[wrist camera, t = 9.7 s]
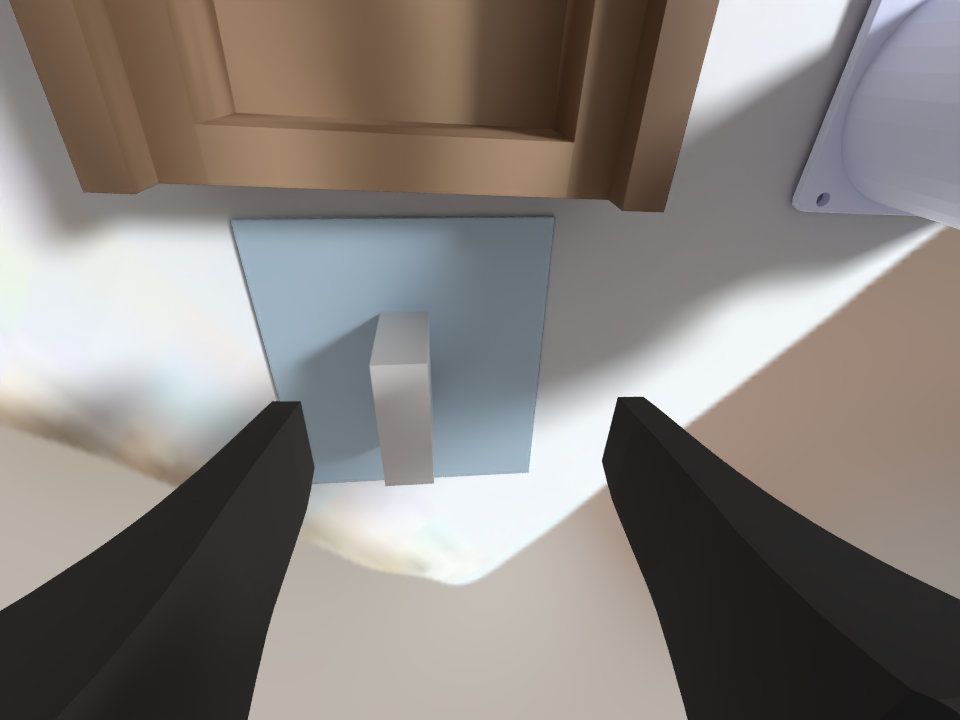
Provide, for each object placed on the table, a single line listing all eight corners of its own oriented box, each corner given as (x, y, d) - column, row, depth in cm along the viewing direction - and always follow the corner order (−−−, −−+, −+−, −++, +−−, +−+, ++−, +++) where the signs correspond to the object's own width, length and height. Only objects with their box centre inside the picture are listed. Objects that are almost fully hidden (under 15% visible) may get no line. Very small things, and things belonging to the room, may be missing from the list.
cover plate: (550, 212, 19) (582, 254, 15) (526, 461, 26) (543, 535, 22) (238, 214, 18) (180, 260, 14) (305, 472, 25) (281, 551, 21)
